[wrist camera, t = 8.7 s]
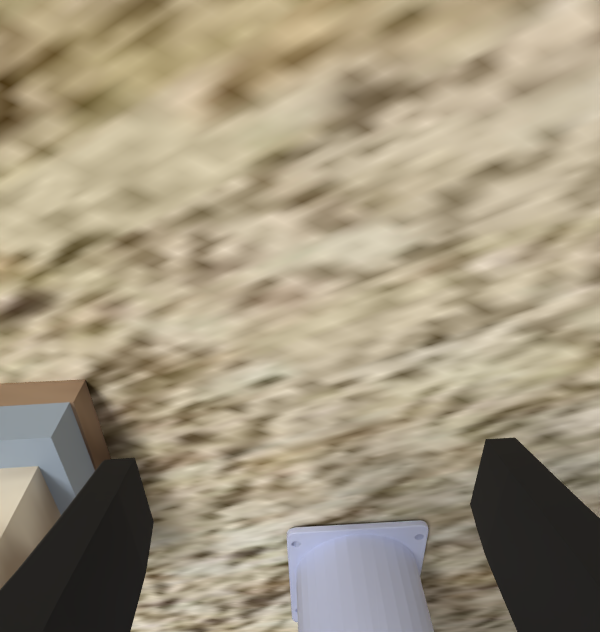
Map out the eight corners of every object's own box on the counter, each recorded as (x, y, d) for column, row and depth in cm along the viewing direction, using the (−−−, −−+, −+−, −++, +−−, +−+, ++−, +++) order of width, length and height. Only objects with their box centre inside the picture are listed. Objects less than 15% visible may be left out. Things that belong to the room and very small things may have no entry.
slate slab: (109, 510, 24) (97, 548, 22) (-35, 519, 24) (-59, 558, 22) (69, 402, 20) (51, 437, 19) (-101, 412, 20) (-136, 448, 18)
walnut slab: (121, 478, 26) (111, 510, 24) (-13, 485, 25) (-34, 518, 24) (88, 372, 22) (73, 402, 20) (-69, 380, 22) (-98, 410, 20)
